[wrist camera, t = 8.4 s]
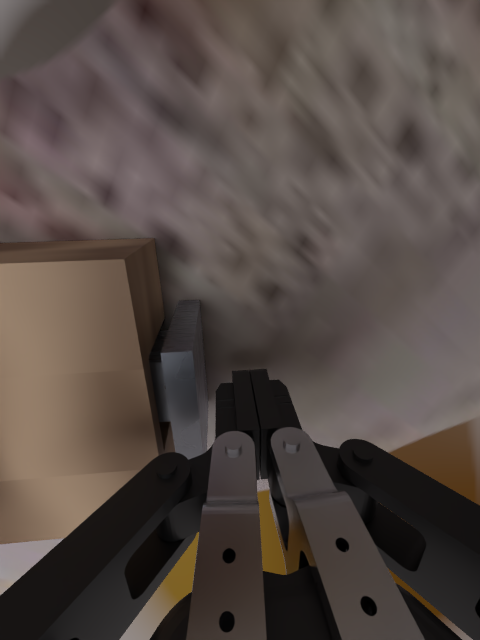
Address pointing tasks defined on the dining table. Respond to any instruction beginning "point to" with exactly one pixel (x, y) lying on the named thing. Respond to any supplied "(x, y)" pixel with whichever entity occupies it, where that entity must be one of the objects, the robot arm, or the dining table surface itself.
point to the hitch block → (75, 379)
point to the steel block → (182, 379)
